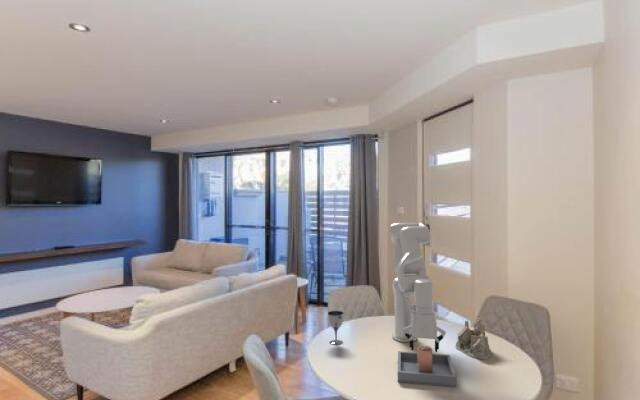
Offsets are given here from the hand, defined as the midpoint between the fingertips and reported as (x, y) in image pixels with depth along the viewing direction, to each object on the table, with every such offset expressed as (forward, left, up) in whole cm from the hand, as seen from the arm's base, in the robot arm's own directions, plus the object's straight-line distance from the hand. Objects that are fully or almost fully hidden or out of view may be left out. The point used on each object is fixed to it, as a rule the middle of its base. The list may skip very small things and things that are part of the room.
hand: (424, 349), depth 152 cm
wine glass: (-24, -42, -9) cm, 49 cm away
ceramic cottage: (-25, +23, -10) cm, 36 cm away
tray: (+1, 0, -9) cm, 9 cm away
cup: (+1, 0, -8) cm, 8 cm away
